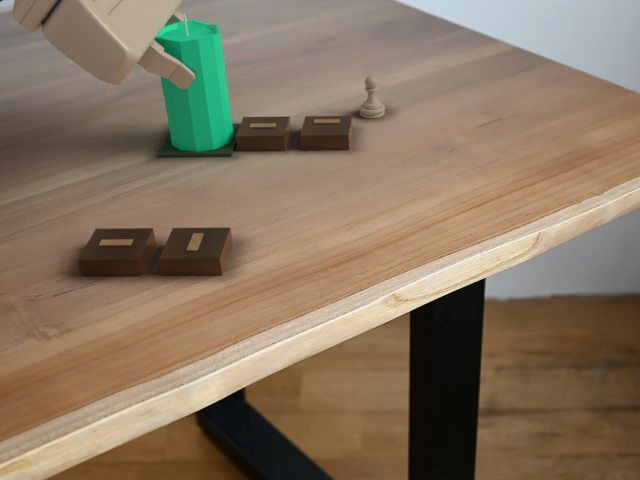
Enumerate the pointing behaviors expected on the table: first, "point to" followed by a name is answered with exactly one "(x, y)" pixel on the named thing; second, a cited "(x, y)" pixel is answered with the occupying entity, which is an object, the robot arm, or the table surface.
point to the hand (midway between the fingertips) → (199, 69)
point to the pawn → (371, 101)
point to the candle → (197, 87)
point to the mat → (223, 151)
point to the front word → (138, 244)
